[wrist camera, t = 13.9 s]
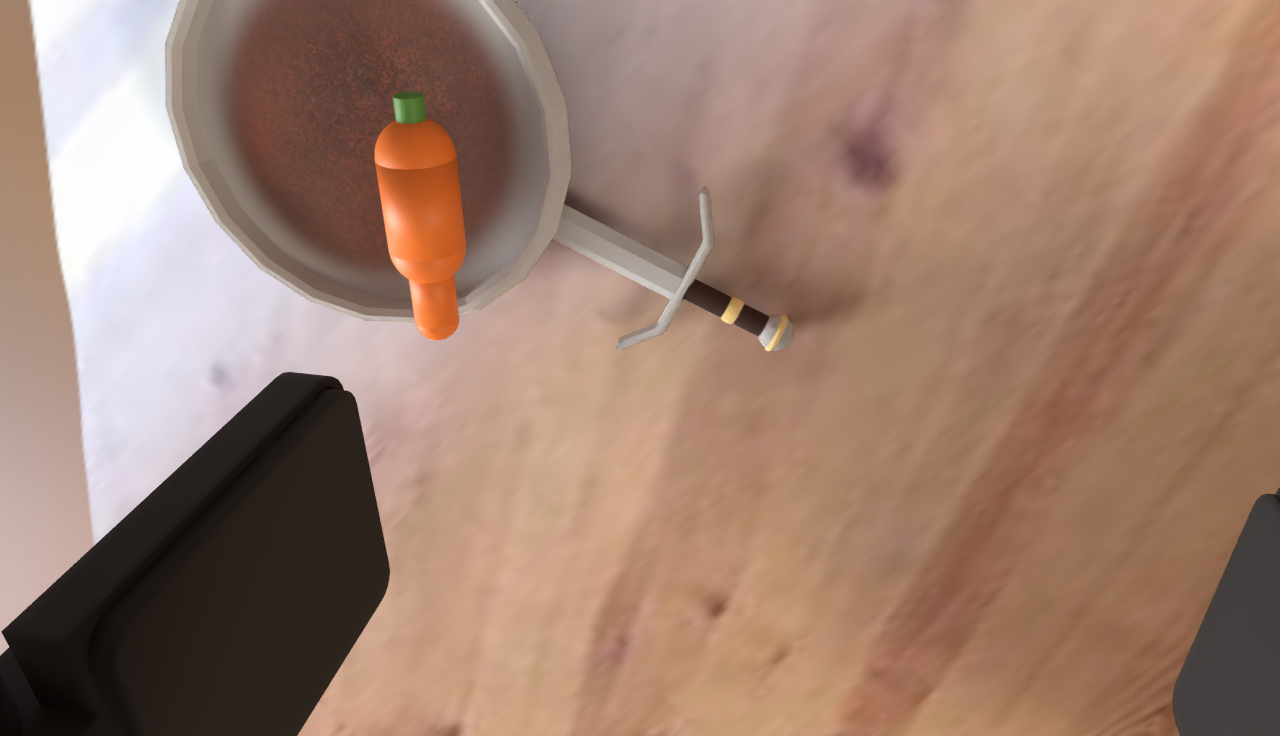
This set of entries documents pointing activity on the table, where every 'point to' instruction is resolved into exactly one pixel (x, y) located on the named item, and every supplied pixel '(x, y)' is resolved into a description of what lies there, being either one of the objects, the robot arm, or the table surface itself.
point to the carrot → (422, 211)
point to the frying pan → (347, 134)
